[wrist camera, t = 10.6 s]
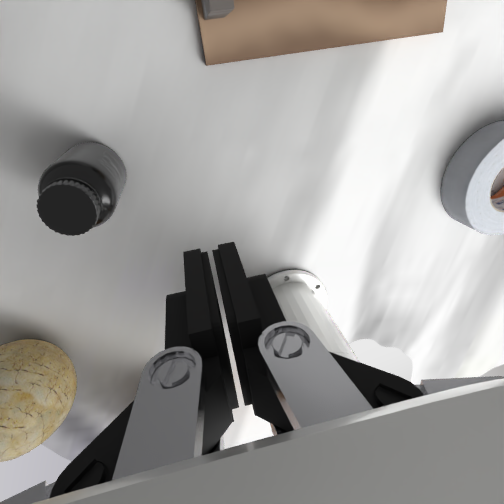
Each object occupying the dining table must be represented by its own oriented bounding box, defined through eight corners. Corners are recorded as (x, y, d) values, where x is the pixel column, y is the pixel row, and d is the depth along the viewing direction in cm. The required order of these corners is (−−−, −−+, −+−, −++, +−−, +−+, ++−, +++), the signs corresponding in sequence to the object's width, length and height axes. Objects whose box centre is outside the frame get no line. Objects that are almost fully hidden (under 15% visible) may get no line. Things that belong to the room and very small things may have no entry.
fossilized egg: (-22, 376, 49) (-90, 487, 36) (-4, 308, 45) (-76, 406, 32) (73, 391, 54) (42, 493, 41) (97, 331, 50) (71, 424, 37)
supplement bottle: (58, 138, 37) (14, 167, 27) (125, 143, 39) (108, 172, 28) (67, 199, 40) (30, 245, 30) (128, 201, 42) (114, 246, 31)
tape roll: (491, 98, 45) (525, 102, 41) (554, 147, 51) (591, 155, 46) (419, 201, 50) (443, 213, 46) (484, 235, 56) (510, 249, 52)
